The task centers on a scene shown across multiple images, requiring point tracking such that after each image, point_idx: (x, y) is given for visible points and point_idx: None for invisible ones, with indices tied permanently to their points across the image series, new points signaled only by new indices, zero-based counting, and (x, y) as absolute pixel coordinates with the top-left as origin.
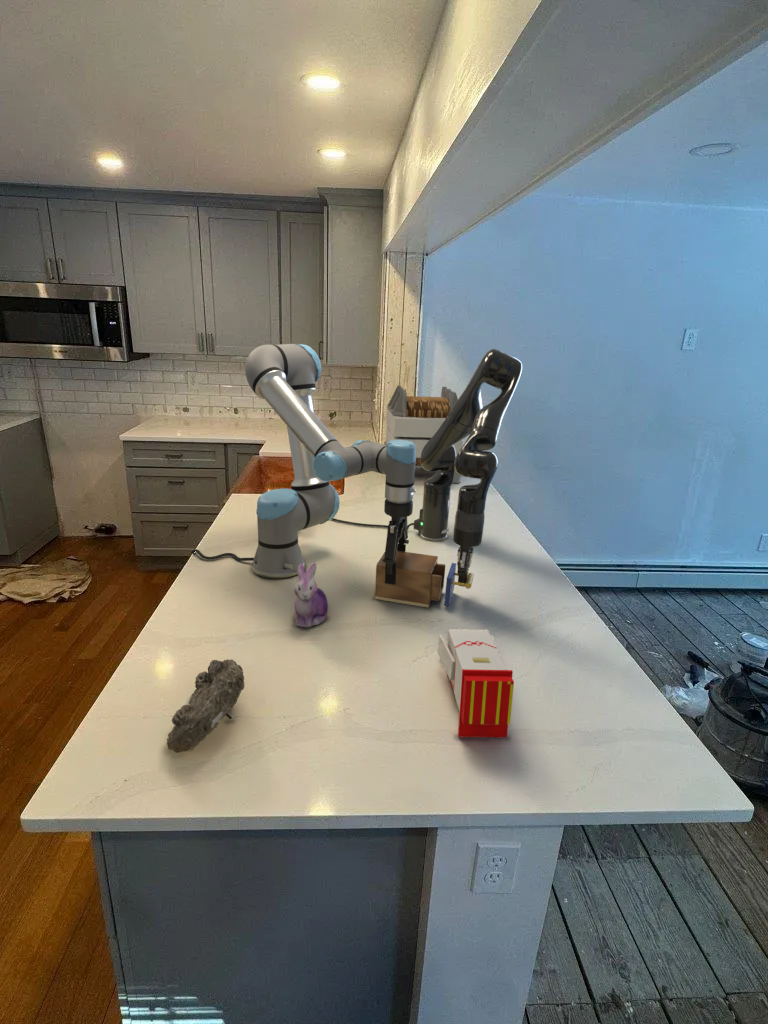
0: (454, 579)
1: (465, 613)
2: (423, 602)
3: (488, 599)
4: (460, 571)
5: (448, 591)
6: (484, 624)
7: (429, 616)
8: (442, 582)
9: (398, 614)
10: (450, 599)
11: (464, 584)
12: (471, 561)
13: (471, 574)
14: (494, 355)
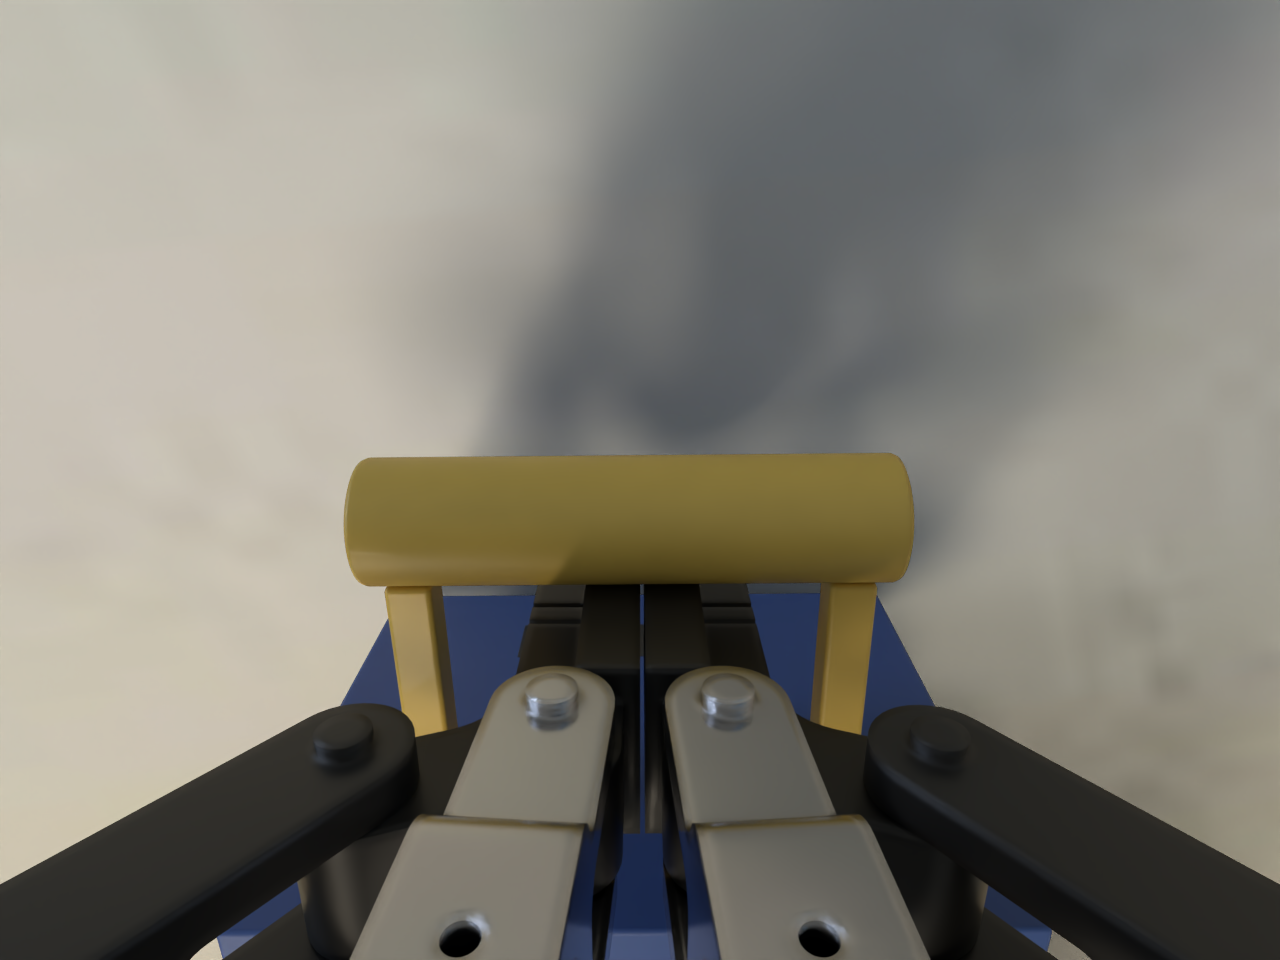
0: (379, 692)
1: (910, 364)
2: None
3: (392, 79)
4: (980, 926)
5: None
6: (1172, 67)
7: (1058, 721)
8: None
9: (1063, 954)
10: None
11: (872, 595)
12: (416, 842)
13: (422, 530)
14: None
